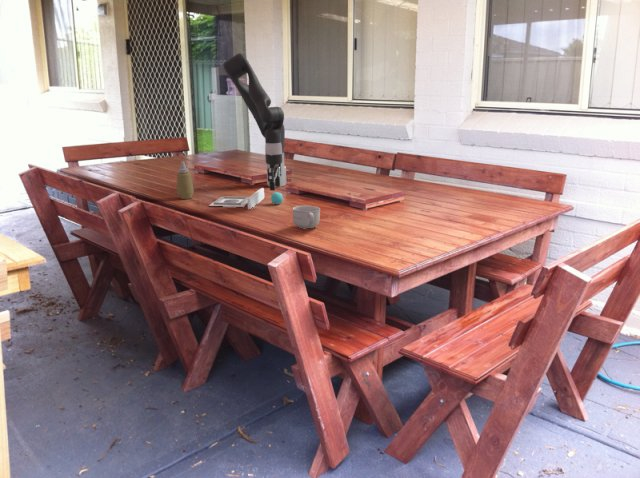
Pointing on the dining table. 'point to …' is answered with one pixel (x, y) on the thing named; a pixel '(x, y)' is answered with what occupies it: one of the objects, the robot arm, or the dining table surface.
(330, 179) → the dining table surface
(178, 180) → the squeeze bottle
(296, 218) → the teacup
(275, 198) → the teal ball
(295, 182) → the dining table surface
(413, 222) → the dining table surface
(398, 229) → the dining table surface
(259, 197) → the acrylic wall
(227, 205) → the pad
